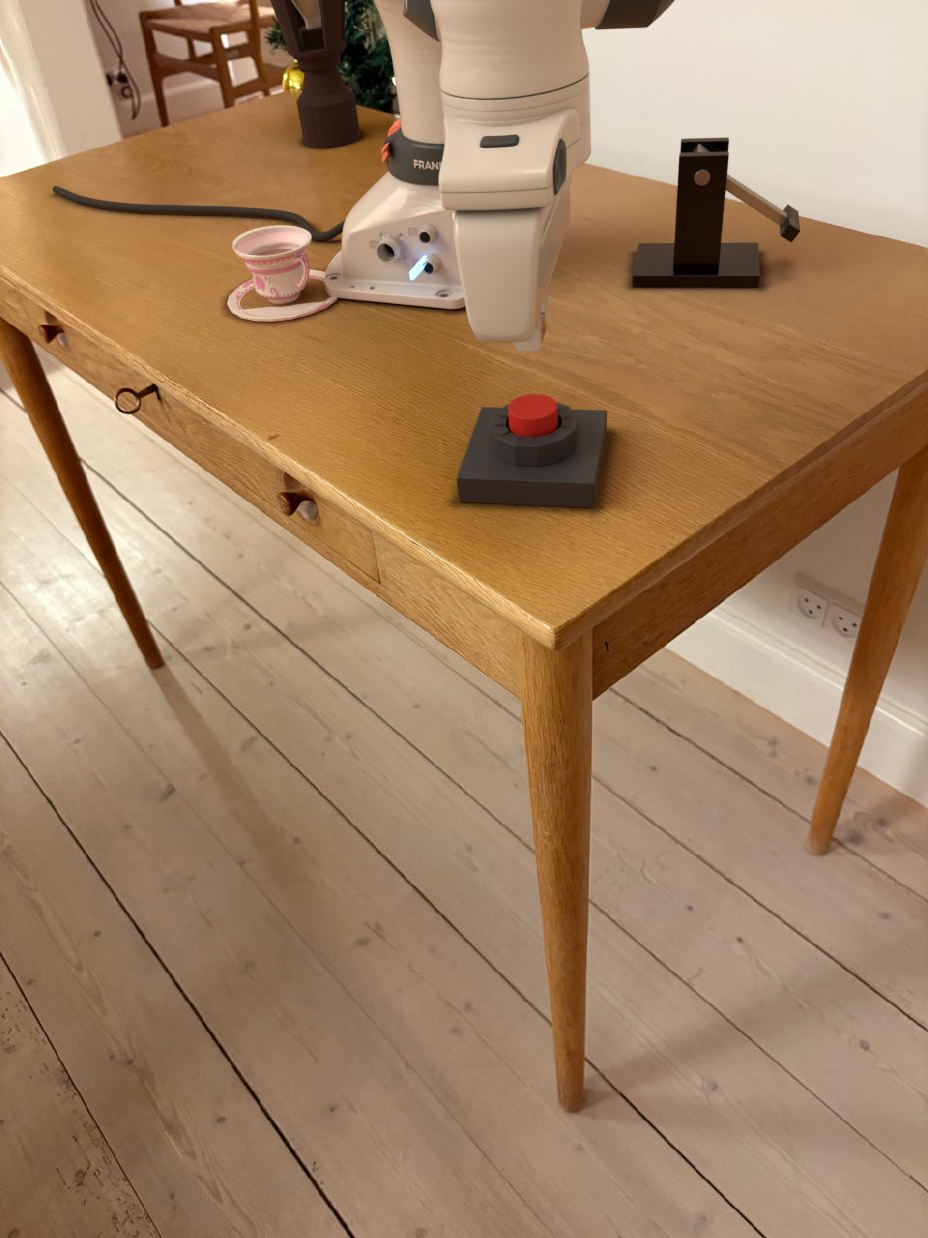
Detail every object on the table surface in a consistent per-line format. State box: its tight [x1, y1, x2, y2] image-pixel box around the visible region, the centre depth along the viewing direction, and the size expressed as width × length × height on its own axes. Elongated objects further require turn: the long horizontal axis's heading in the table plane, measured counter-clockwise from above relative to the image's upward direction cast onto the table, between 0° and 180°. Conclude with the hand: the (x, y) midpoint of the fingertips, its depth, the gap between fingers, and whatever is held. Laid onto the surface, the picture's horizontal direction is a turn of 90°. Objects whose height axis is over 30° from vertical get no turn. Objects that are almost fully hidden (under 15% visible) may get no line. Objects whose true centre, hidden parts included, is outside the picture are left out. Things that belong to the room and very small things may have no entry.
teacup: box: [227, 224, 339, 323], centre depth 103 cm, size 12×12×6 cm
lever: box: [693, 144, 801, 243], centre depth 95 cm, size 12×5×2 cm
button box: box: [456, 401, 608, 509], centre depth 76 cm, size 10×10×4 cm
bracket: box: [631, 137, 761, 289], centre depth 97 cm, size 12×8×12 cm, turn 79°
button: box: [508, 393, 558, 437], centre depth 74 cm, size 4×4×2 cm
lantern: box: [269, 0, 361, 149], centre depth 134 cm, size 15×15×30 cm
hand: (531, 342), depth 70 cm, fingers closed
